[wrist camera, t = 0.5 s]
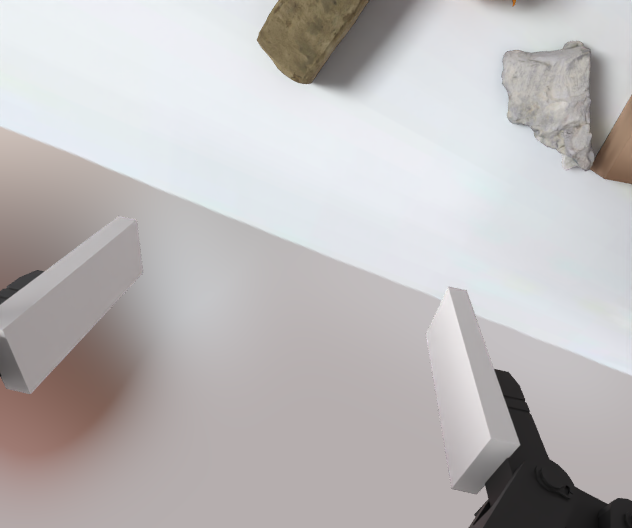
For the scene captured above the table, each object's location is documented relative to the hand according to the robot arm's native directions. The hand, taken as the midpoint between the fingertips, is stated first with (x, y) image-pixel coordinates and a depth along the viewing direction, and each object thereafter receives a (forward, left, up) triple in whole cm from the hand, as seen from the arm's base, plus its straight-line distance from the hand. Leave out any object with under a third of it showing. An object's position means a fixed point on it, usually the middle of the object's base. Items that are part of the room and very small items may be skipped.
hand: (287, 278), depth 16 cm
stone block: (-10, -3, -28) cm, 30 cm away
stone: (-6, +19, -28) cm, 34 cm away
